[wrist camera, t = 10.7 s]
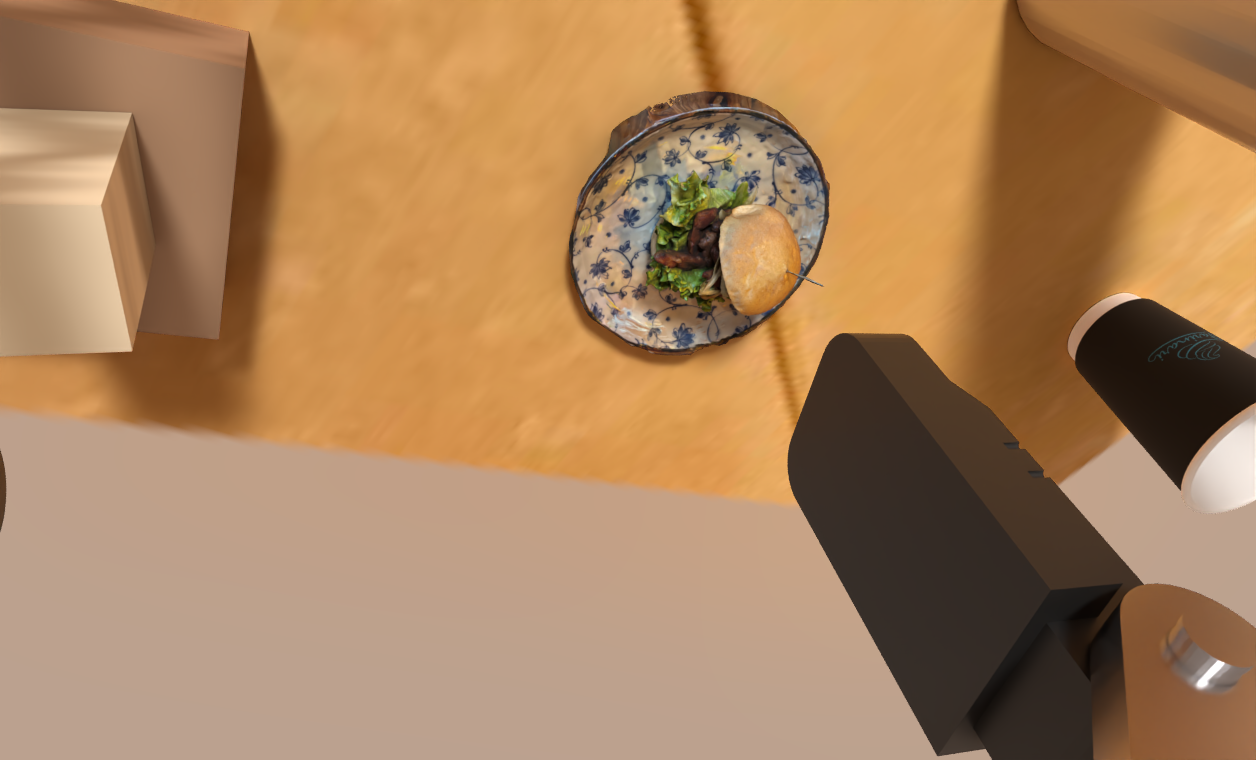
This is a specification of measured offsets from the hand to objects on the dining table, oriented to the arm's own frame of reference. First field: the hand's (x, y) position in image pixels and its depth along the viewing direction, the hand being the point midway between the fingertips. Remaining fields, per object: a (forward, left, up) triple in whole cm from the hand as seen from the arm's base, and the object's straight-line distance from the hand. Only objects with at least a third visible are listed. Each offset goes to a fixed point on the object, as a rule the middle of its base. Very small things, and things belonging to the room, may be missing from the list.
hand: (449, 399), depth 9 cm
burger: (-15, +11, -26) cm, 32 cm away
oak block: (+8, +9, -22) cm, 25 cm away
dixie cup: (-42, +16, -26) cm, 52 cm away
